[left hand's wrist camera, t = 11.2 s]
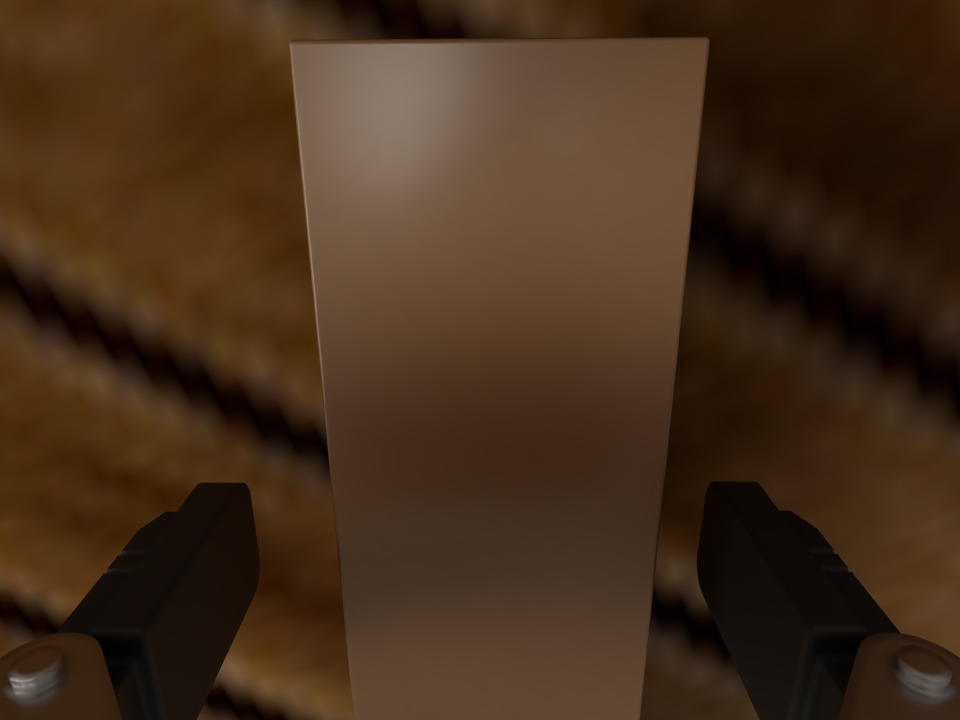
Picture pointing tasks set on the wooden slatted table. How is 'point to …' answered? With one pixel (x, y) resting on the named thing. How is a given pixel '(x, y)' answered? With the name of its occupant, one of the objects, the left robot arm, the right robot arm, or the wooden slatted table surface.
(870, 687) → the left robot arm
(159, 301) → the wooden slatted table surface
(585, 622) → the post
